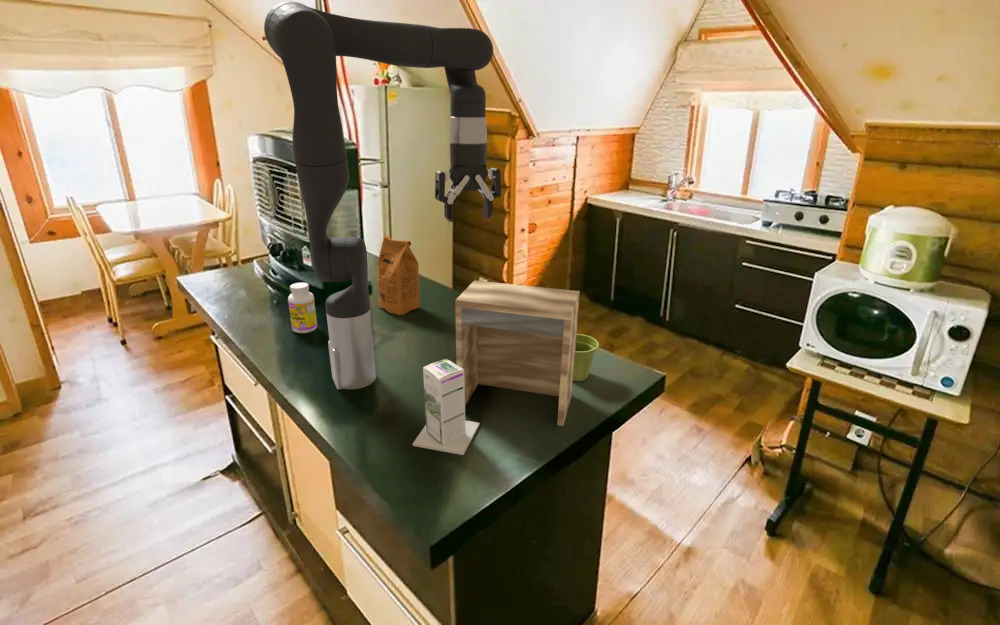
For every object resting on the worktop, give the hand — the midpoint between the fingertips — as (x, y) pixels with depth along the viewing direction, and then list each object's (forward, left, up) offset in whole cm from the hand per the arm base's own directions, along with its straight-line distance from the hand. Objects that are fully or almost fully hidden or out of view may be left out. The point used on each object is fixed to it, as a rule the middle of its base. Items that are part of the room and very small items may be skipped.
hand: (468, 219), depth 115 cm
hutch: (+3, -18, -36) cm, 41 cm away
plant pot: (+21, -14, -36) cm, 44 cm away
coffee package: (-4, +44, -36) cm, 57 cm away
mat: (-15, -23, -36) cm, 45 cm away
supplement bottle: (-32, +40, -36) cm, 63 cm away
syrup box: (-15, -23, -36) cm, 45 cm away
